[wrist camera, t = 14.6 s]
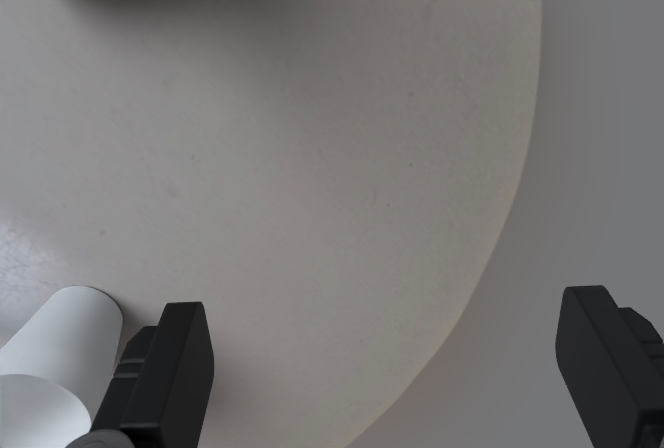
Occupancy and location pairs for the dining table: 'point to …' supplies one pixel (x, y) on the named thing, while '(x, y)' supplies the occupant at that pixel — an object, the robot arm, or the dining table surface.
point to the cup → (58, 369)
